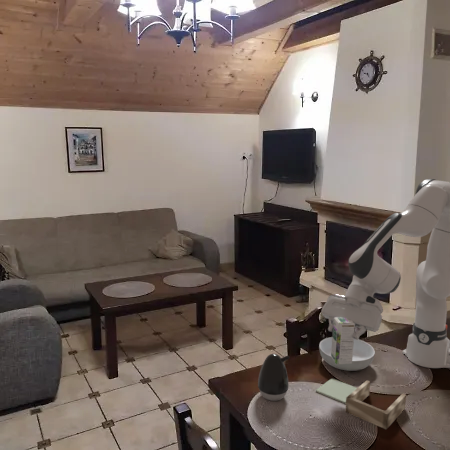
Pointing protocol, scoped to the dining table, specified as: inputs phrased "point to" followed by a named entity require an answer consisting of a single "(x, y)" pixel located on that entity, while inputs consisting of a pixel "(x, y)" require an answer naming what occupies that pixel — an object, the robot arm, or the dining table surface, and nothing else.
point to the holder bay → (371, 412)
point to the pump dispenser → (273, 378)
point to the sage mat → (336, 390)
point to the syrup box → (342, 340)
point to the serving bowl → (360, 359)
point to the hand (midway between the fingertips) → (342, 334)
